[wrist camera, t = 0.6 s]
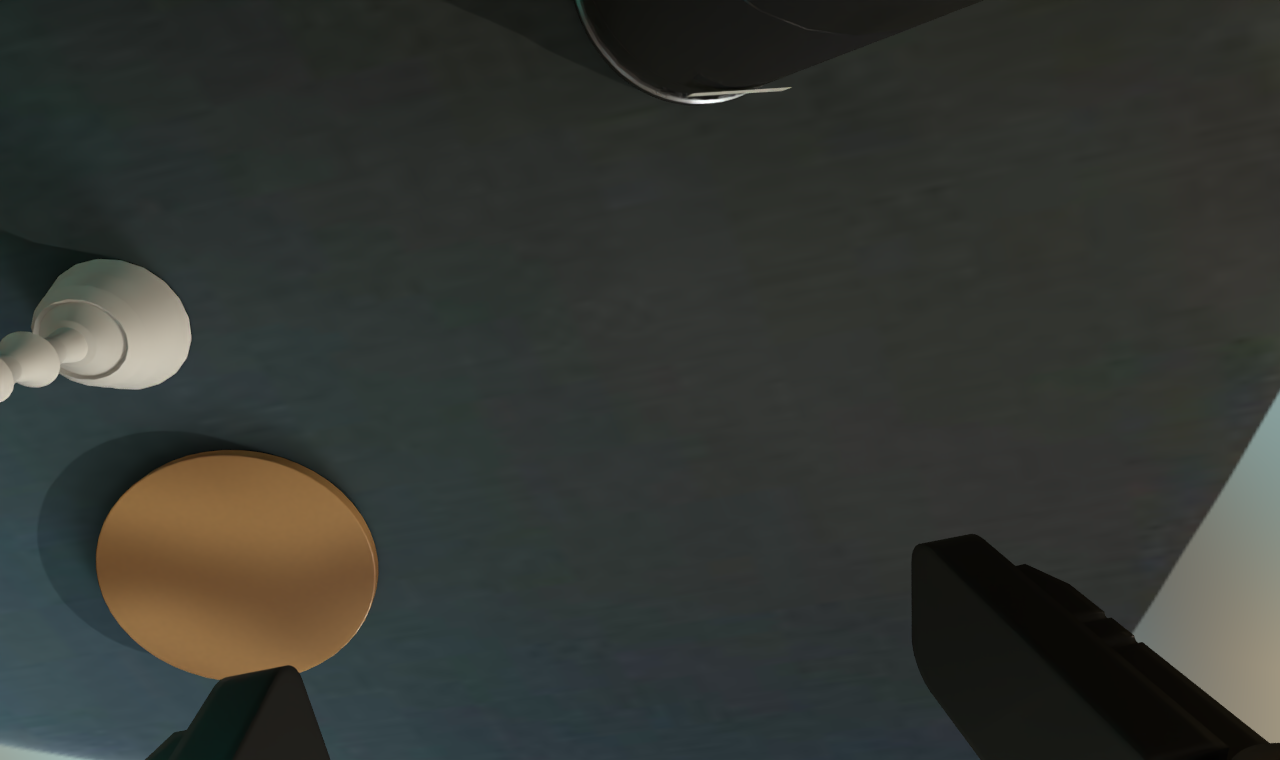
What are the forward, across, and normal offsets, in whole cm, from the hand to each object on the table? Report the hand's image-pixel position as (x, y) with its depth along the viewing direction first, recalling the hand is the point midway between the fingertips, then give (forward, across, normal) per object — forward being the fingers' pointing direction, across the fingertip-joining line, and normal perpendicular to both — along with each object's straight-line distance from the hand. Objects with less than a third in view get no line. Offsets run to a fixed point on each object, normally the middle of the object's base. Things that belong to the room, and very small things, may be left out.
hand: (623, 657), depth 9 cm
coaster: (+20, +15, +9) cm, 27 cm away
